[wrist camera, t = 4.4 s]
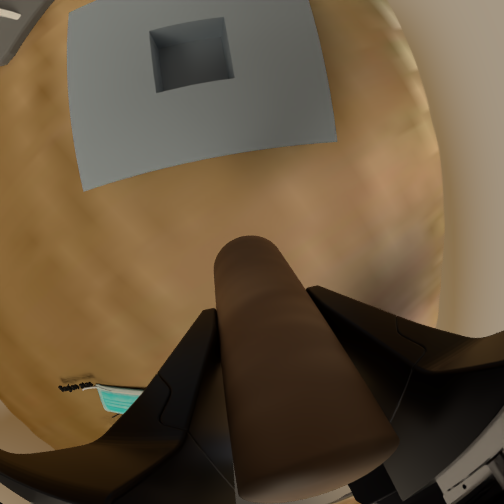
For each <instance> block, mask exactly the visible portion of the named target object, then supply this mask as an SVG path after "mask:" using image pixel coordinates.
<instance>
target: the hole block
mask: <svg viewBox="0 0 504 504" xmlns="http://www.w3.org/2000/svg"><path fill="white" fill-rule="evenodd" d="M67 78H68V95H69V107H70V117H71V125H72V132H73V139H74V146H75V152H76V157H77V163H78V168H79V173H80V178H81V182H82V187H83V191H87V190H90V189H93V188H96V187H99V186H102V185H105V184H108V183H112V182H115V181H118V180H122V179H125V178H129V177H132V176H136V175H140V174H143V173H147V172H151V171H155V170H159V169H163V168H167V167H171V166H175V165H180V164H184V163H189V162H194V161H198V160H203V159H208V158H214V157H219V156H224V155H230V154H236V153H242V152H248V151H255V150H262V149H269V148H277V147H285V146H294V145H303V144H314V143H327V142H337V135H336V127H335V120H334V113H333V107H332V101H331V95H330V89H329V84H328V78H327V73H326V68H325V63H324V58H323V54H322V49H321V45H320V41H319V37H318V33H317V29H316V25H315V21H314V17H313V14H312V10H311V7H310V3H309V0H96V1H94V2H91V3H89V4H87V5H85V6H82V7H80V8H78V9H76V10H74V11H72V12H70V13H69V20H68V36H67Z"/></svg>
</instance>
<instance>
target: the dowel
mask: <svg viewBox="0 0 504 504" xmlns="http://www.w3.org/2000/svg"><path fill="white" fill-rule="evenodd" d="M214 282H215V296H216V310H217V321H218V333H219V345H220V356H221V366H222V376H223V385H224V394H225V403H226V411H227V419H228V427H229V435H230V442H231V449H232V456H233V463H234V470H235V476H236V482H237V488H238V494H239V496H240V497H241V498H242V499H244V500H246V501H250V502H255V503H283V502H290V501H296V500H302V499H307V498H310V497H314V496H318V495H321V494H324V493H327V492H330V491H333V490H336V489H338V488H340V487H343V486H345V485H347V484H349V483H351V482H353V481H355V480H357V479H359V478H361V477H363V476H364V475H366V474H368V473H369V472H371V471H372V470H374V469H375V468H377V467H378V466H380V465H381V464H382V463H383V462H385V461H386V460H387V459H388V458H389V457H390V456H391V455H392V454H393V453H394V452H395V450H396V449H397V447H398V445H399V442H400V439H399V437H398V436H397V434H396V432H395V431H394V429H393V427H392V426H391V424H390V422H389V421H388V419H387V417H386V416H385V414H384V412H383V411H382V409H381V407H380V406H379V404H378V402H377V401H376V399H375V398H374V396H373V394H372V393H371V391H370V389H369V388H368V386H367V385H366V383H365V381H364V380H363V378H362V377H361V375H360V373H359V372H358V370H357V369H356V367H355V365H354V364H353V362H352V361H351V359H350V358H349V356H348V354H347V353H346V351H345V350H344V348H343V347H342V345H341V343H340V342H339V340H338V339H337V337H336V336H335V334H334V333H333V331H332V329H331V328H330V326H329V325H328V323H327V322H326V320H325V319H324V317H323V316H322V314H321V312H320V311H319V309H318V308H317V306H316V305H315V303H314V302H313V300H312V299H311V297H310V296H309V294H308V293H307V291H306V290H305V288H304V287H303V285H302V284H301V282H300V281H299V279H298V278H297V276H296V275H295V273H294V272H293V270H292V269H291V267H290V266H289V264H288V263H287V261H286V260H285V258H284V257H283V255H282V254H281V252H280V251H279V250H278V248H277V247H276V246H275V245H274V244H273V243H272V242H271V241H269V240H267V239H265V238H263V237H259V236H243V237H239V238H236V239H234V240H232V241H230V242H229V243H227V244H226V245H225V246H224V247H223V248H222V249H221V250H220V252H219V253H218V255H217V257H216V260H215V263H214Z"/></svg>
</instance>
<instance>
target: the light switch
mask: <svg viewBox="0 0 504 504" xmlns="http://www.w3.org/2000/svg"><path fill="white" fill-rule="evenodd" d="M53 1H54V0H0V66H3V65H7V64H8V63H9V62H10V60H11V59H12V58H13V57H14V56H15V54H16V53H17V51H18V50H19V48H20V46H21V45H22V43H23V42H24V40H25V39H26V37H27V36H28V34H29V33H30V31H31V30H32V28H33V27H34V26H35V24H36V23H37V22H38V20H39V19H40V18H41V16H42V15H43V14H44V12H45V11H46V10H47V9H48V7H49V6H50V5H51V4H52V3H53Z"/></svg>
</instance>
